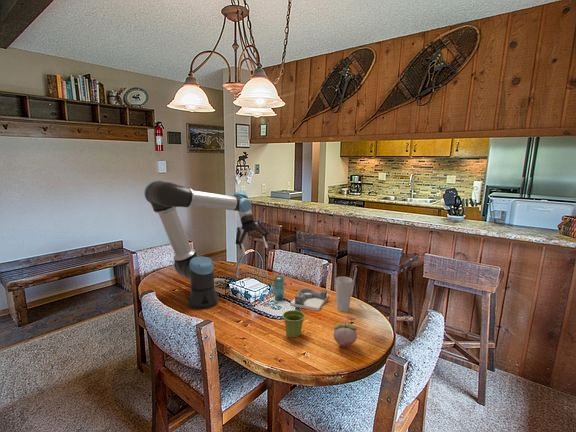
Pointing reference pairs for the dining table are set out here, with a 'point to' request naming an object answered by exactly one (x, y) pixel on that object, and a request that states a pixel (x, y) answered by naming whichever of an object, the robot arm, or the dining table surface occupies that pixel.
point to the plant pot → (293, 322)
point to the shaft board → (310, 299)
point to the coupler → (279, 288)
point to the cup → (343, 293)
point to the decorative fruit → (345, 334)
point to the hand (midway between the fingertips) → (255, 251)
